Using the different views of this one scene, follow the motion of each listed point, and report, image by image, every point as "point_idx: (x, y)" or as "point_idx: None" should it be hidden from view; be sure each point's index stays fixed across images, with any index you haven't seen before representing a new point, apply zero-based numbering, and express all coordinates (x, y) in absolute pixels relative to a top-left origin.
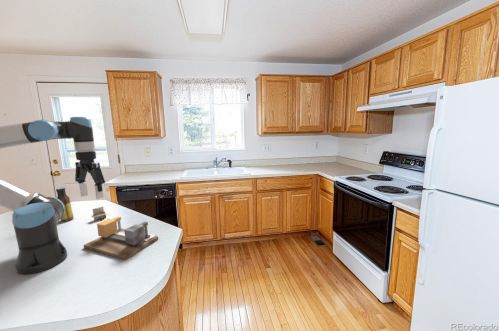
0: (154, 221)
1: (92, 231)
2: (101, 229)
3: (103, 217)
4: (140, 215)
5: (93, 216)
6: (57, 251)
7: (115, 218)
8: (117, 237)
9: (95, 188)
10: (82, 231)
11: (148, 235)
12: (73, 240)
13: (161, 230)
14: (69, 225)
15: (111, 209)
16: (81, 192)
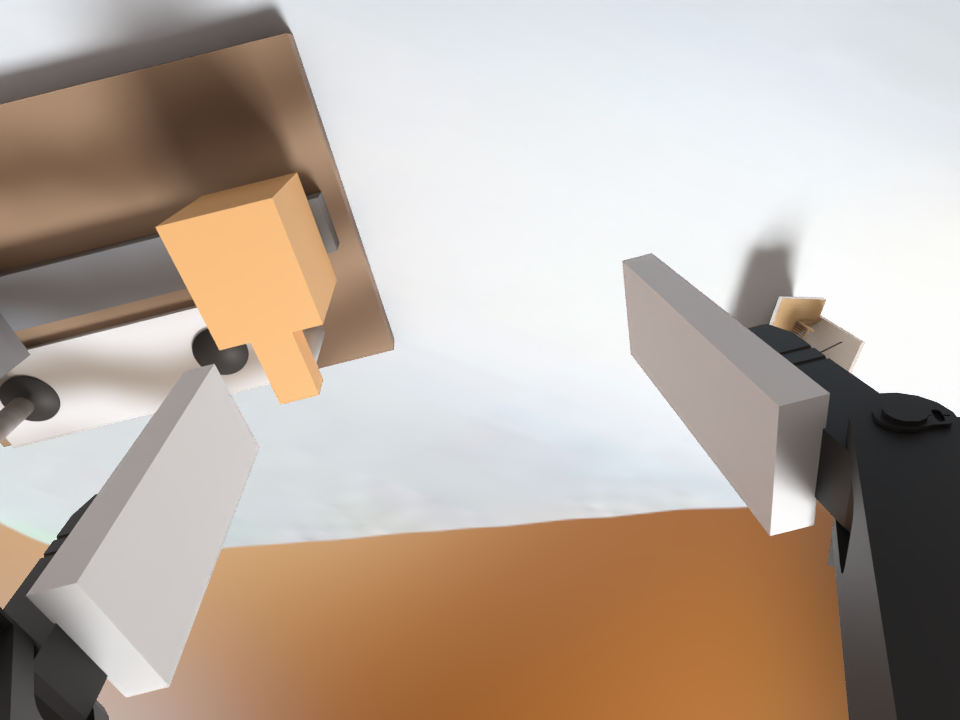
0: (353, 527)
1: (581, 208)
2: (224, 201)
3: None
4: (545, 515)
5: (790, 306)
6: None
7: (280, 363)
8: (140, 258)
9: (102, 514)
10: (659, 157)
11: (40, 413)
12: (540, 36)
13: None
14: (898, 136)
15: None
16: (658, 292)
